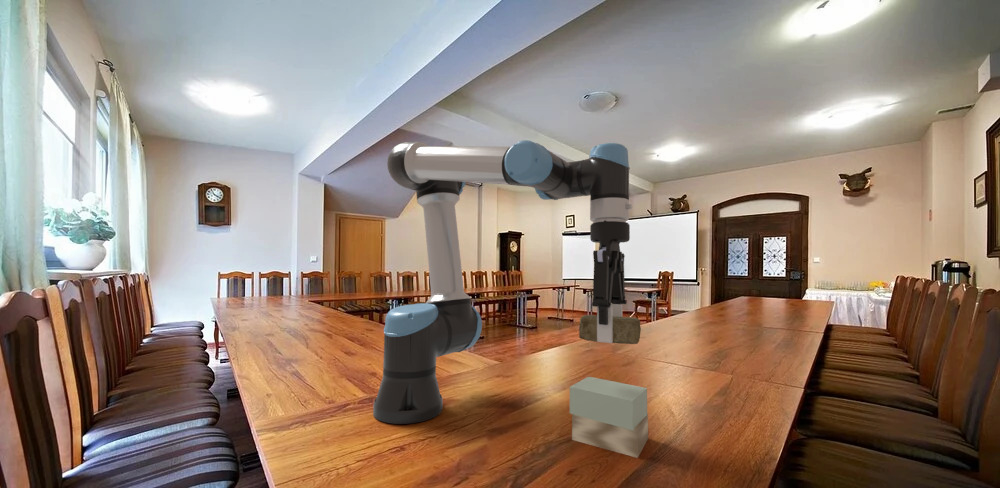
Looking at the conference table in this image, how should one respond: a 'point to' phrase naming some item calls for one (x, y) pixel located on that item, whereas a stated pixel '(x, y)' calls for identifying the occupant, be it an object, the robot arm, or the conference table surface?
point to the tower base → (610, 435)
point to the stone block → (623, 329)
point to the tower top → (609, 402)
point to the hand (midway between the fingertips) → (610, 338)
